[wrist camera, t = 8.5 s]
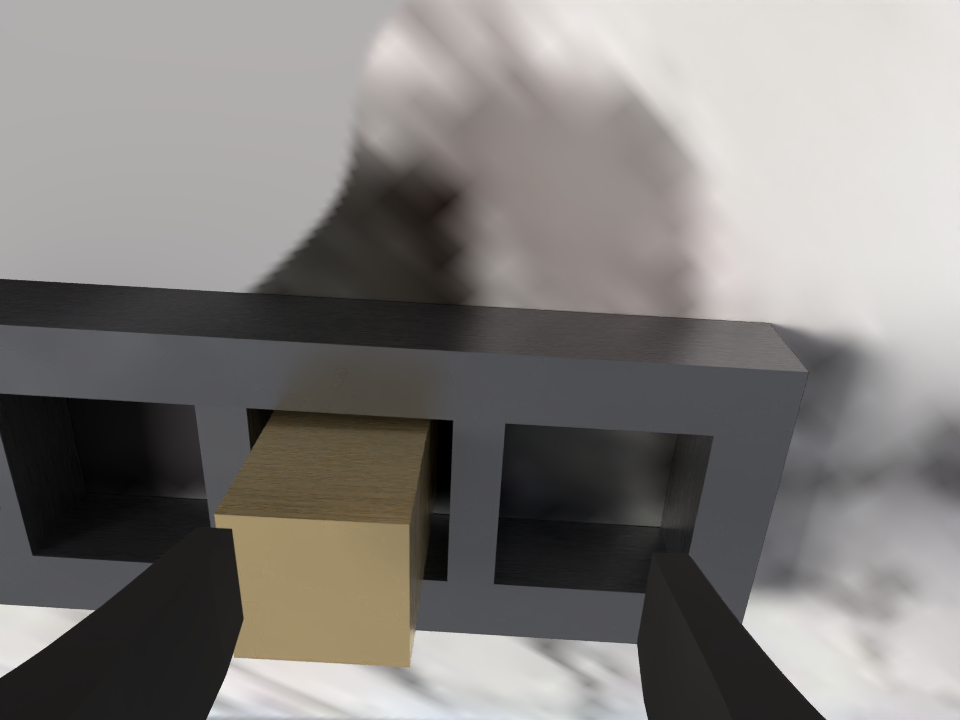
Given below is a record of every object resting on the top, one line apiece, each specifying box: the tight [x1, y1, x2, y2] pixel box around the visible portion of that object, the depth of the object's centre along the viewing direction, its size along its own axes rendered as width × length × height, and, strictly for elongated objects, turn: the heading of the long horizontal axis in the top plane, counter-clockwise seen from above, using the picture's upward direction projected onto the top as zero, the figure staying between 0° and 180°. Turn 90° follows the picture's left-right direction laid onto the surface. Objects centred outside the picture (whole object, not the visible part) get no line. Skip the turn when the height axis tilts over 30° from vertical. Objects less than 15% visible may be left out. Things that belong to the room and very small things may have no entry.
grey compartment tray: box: [0, 279, 809, 644], centre depth 21 cm, size 22×9×3 cm, turn 87°
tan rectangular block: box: [214, 410, 438, 667], centre depth 19 cm, size 4×4×7 cm
